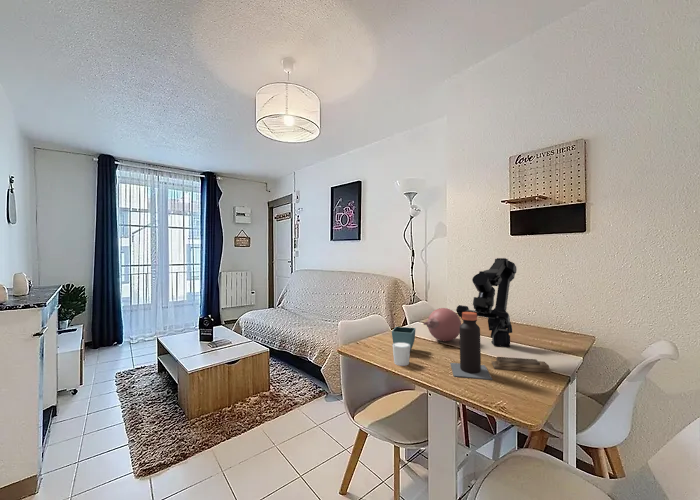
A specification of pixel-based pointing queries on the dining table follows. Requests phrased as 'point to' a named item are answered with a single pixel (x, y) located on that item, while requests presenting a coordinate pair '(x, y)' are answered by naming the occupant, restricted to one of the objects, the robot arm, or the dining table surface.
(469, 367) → the dark water bottle
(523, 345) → the dining table surface
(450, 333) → the pink onion-shaped ball
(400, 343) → the white cylinder
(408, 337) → the flower pot
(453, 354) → the dining table surface
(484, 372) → the grey mat
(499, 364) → the offcut stack
